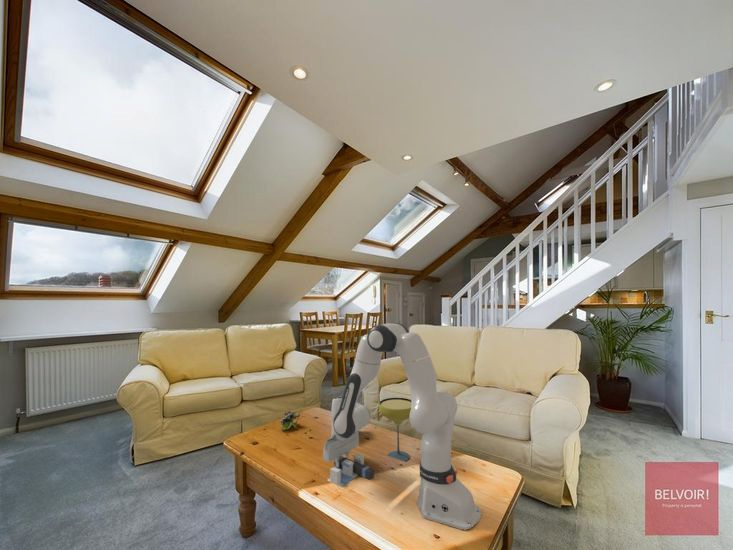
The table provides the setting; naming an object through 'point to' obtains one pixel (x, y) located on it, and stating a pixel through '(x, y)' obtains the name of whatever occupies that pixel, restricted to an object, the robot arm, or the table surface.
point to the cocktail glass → (396, 419)
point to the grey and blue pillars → (345, 471)
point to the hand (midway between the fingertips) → (341, 463)
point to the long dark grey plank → (359, 468)
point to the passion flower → (289, 420)
